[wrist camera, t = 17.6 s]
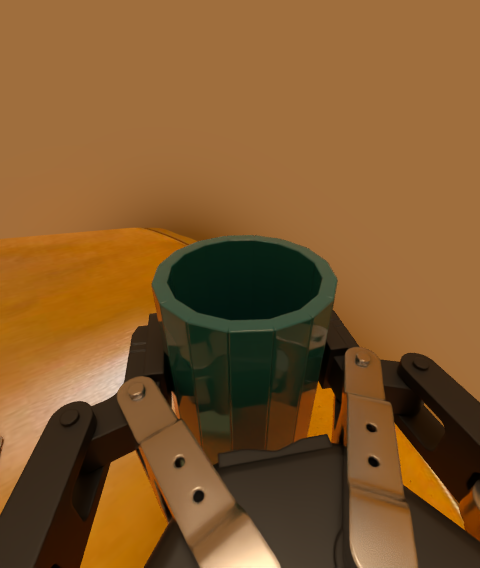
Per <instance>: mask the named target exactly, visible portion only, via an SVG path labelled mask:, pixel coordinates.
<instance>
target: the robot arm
mask: <svg viewBox="0 0 480 568" xmlns="http://www.w3.org/2000/svg"><path fill="white" fill-rule="evenodd" d="M318 381H319V383H320V385H321V387H322V389H325V388H332V390H333V392H334V394H335V395H334V404H333V426H332V440H331V442H330V440H329V437H328V435H327V434H324V435H319V436H313V437H307V438H302V439H299V440H297V441H295V442H293V443H291V444H289V445H287V446H285V447H283V448H281V449H279V450H276V451H269V450H258V449H240V450H234V451H229V452H223V453H218V463H216V464H214V465H212V463H211V461H210V460H209V458H208V457H207V455H206V454H205V452H204V451H203V449H202V447H201V446H200V444H199V443H198V441H197V440H196V438H195V437H194V435H193V434H192V432H191V430H190V429H189V427H188V426H187V424H186V423H185V421H184V420H183V419H182V418H180V419H178V418H177V416H176V415H175V413H174V412H173V410H172V408H171V407H172V390H171V385H170V380H169V374H168V369H167V364H166V358H165V353H164V349H163V344H162V338H161V333H160V328H159V323H158V317H157V313H153V314H149V322H148V325H147V326H139V327H138V328H137V329H136V330H135V332H134V333H133V335H132V339H131V346H130V351H129V356H128V362H127V368H126V374H125V380H124V384H123V385H122V386H121V387H120V388H119V390H118V392H117V393H116V394H115V395H114V396H113V397H111V398H109V399H108V400H105V401H103V402H101V403H98V404H96V405H93V406H90V405H89V404H88V403H86V402H82V401H77V402H72V403H69V404H67V405H64V406H63V407H61V408H60V409H58V410H57V411H56V412H55V413H54V414H53V415H52V416H51V418H50V420H49V421H48V423H47V425H46V427H45V429H44V431H43V433H42V435H41V437H40V439H39V441H38V443H37V445H36V447H35V449H34V451H33V452H32V454H31V456H30V458H29V460H28V462H27V464H26V466H25V468H24V470H23V472H22V474H21V476H20V478H19V480H18V482H17V484H16V485H15V487H14V489H13V491H12V493H11V495H10V497H9V499H8V501H7V503H6V505H5V507H4V509H3V511H2V513H1V515H0V568H80V565H81V562H82V558H83V555H84V551H85V548H86V545H87V541H88V538H89V534H90V531H91V528H92V524H93V521H94V517H95V514H96V511H97V507H98V504H99V500H100V497H101V494H102V490H103V487H104V483H105V480H106V477H107V473H108V470H109V466H110V463H111V462H112V461H114V460H116V459H118V458H120V457H122V456H124V455H126V454H128V453H130V452H132V451H134V450H135V451H136V453H137V455H138V458H139V460H140V462H141V464H142V466H143V469H144V471H145V473H146V475H147V477H148V479H149V482H150V484H151V486H152V488H153V491H154V493H155V496H156V498H157V501H158V503H159V506H160V508H161V510H162V512H163V514H164V517H165V519H166V521H167V523H168V526H167V527H166V529H165V531H164V533H163V534H162V536H161V538H160V540H159V541H158V543H157V545H156V547H155V548H154V550H153V552H152V554H151V556H150V557H149V559H148V561H147V563H146V564H145V566H144V568H480V402H479V401H477V400H476V399H475V398H474V397H473V396H472V395H471V394H470V393H468V392H467V391H466V390H465V389H464V388H463V387H462V386H461V385H460V384H458V383H457V382H456V381H455V380H454V379H453V378H452V377H451V376H449V375H448V374H447V373H446V372H445V371H444V370H443V369H442V368H441V367H439V366H438V365H437V364H436V363H435V362H434V361H433V360H431V359H430V358H428V357H426V356H424V355H421V354H417V353H407V354H405V355H404V356H402V358H401V361H400V362H396V361H387V360H380V359H379V357H378V356H377V355H376V354H375V353H374V352H372V351H370V350H368V349H365V348H361V347H359V345H358V344H357V343H356V341H355V340H354V338H353V337H352V336H351V334H350V333H349V331H348V330H347V328H346V327H345V326H344V324H343V323H342V321H341V320H340V319H339V317H338V316H337V314H336V313H335V311H333V310H332V314H331V319H330V324H329V329H328V334H327V339H326V344H325V349H324V354H323V359H322V364H321V369H320V374H319V379H318ZM424 403H425V404H426V405H427V406H428V407H429V408H430V409H431V410H432V411H433V412H434V413H435V414H436V416H437V417H438V418H439V419H440V420H441V421H442V423H443V425H444V427H445V428H444V427H443V425H441V423H440V422H439V421H438V420H437V419H436V418H435V417H434V416H433V415H432V414H431V413H430V412H429V410H428V409H427V408H426V407H425V406H424ZM394 422H395V424H396V425H397V426H398V427H399V429H400V430H401V431H402V432H403V434H404V435H405V436H406V437H407V439H408V440H409V441H410V442H411V444H412V445H413V446H414V447H415V449H416V450H417V451H418V452H419V454H420V455H421V456H422V457H423V459H424V460H425V461H426V462H427V464H428V465H429V466H430V467H431V469H432V470H433V471H434V473H435V474H436V475H437V476H438V478H439V479H440V480H441V481H442V483H443V484H444V485H445V486H446V488H447V489H448V490H449V491H450V493H451V494H452V495H453V496H454V498H455V499H456V500H457V501H458V503H459V510H460V514H461V517H462V519H463V521H464V528H465V530H466V531H465V530H464V529H462V528H461V527H460V526H458V525H457V524H456V523H454V522H453V521H452V520H450V519H449V518H447V517H446V516H445V515H443V514H442V513H441V512H439V511H438V510H437V509H435V508H434V507H433V506H431V505H430V504H428V503H427V502H426V501H424V500H423V499H422V498H420V497H419V496H418V495H416V494H415V493H414V492H412V491H411V490H409V489H408V488H407V487H405V486H404V485H403V483H402V476H401V468H400V461H399V454H398V446H397V439H396V432H395V425H394Z"/></svg>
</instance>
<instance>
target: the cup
mask: <svg viewBox="0 0 480 568" xmlns="http://www.w3.org/2000/svg"><path fill="white" fill-rule="evenodd" d="M337 282H338V280H337V277H336V276H335V274H334V272H333V270H332V268H331V267H330V265H329V263H328V262H327V261H326V260H325V259H323V258H321V257H320V256H319V255H317V254H316V253H314V252H313V251H311V250H310V249H309V248H306V247H304V246H301V245H298V244H295V243H292V242H289V241H286V240H282V239H278V238H271V237H264V236H256V235H255V236H254V235H242V236H241V235H240V236H223V237H217V238H212V239H207V240H202V241H198V242H196V243H193V244H191V245H188V246H186V247H184V248H181V249H179V250H177V251H175V252H174V253H172V254H171V255H170V256H169V257H168V258H166V259H165V260H164V261H163V262H162V263H161V264H159V266H158V267H157V270H156V273H155V276H154V279H153V281H152V291H153V296H154V302H155V307H156V312H157V317H158V323H159V328H160V333H161V338H162V344H163V349H164V353H165V358H166V364H167V369H168V374H169V380H170V385H171V390H172V396H173V401H174V407H175V412H176V416H177V418H178V419H180V418H182V419H183V420H184V421H185V423H186V424H187V426H188V427H189V429H190V430H191V432H192V434H193V435H194V437H195V438H196V440H197V441H198V443H199V444H200V446H201V447H202V449H203V451H204V452H205V454H206V455H207V457H208V458H209V460H210V461H211V463H212V465H214V464H216V463H218V453H223V452H229V451H234V450H240V449H258V450H269V451H276V450H279V449H281V448H283V447H285V446H287V445H289V444H291V443H293V442H295V441H297V440H299V439H302V438H307V434H308V429H309V424H310V419H311V414H312V409H313V404H314V399H315V394H316V389H317V384H318V379H319V374H320V369H321V364H322V359H323V354H324V349H325V344H326V339H327V334H328V329H329V324H330V319H331V314H332V309H333V304H334V298H335V293H336V288H337Z"/></svg>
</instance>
